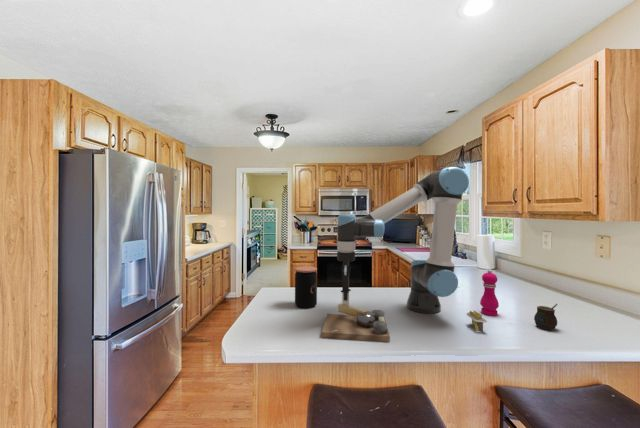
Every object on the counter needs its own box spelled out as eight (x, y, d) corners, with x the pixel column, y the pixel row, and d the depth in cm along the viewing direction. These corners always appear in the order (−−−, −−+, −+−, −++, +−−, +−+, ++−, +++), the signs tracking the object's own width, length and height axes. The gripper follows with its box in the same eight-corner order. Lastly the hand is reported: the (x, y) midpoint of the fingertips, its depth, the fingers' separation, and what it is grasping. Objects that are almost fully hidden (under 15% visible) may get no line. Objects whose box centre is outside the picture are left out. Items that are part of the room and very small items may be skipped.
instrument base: (384, 321, 119) (384, 309, 119) (389, 342, 100) (389, 327, 100) (327, 318, 122) (327, 306, 122) (321, 337, 103) (321, 323, 103)
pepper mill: (478, 313, 129) (478, 269, 129) (482, 309, 135) (482, 267, 134) (496, 317, 124) (497, 271, 124) (500, 313, 130) (500, 269, 130)
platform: (471, 338, 104) (471, 320, 104) (449, 320, 122) (450, 304, 122) (504, 339, 104) (504, 321, 104) (478, 320, 122) (478, 305, 122)
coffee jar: (314, 309, 133) (314, 271, 133) (292, 308, 135) (292, 270, 135) (318, 302, 143) (319, 266, 143) (298, 301, 145) (298, 265, 145)
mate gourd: (529, 324, 117) (529, 299, 117) (548, 324, 117) (548, 300, 117) (542, 331, 110) (543, 305, 110) (562, 332, 110) (563, 306, 110)
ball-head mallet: (378, 323, 111) (378, 311, 111) (368, 328, 106) (368, 316, 106) (344, 313, 122) (344, 302, 122) (334, 317, 117) (334, 306, 117)
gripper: (338, 248, 127) (337, 301, 127) (335, 253, 114) (335, 312, 114) (355, 249, 126) (354, 302, 126) (354, 253, 113) (354, 313, 113)
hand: (345, 307), depth 120 cm, fingers closed
